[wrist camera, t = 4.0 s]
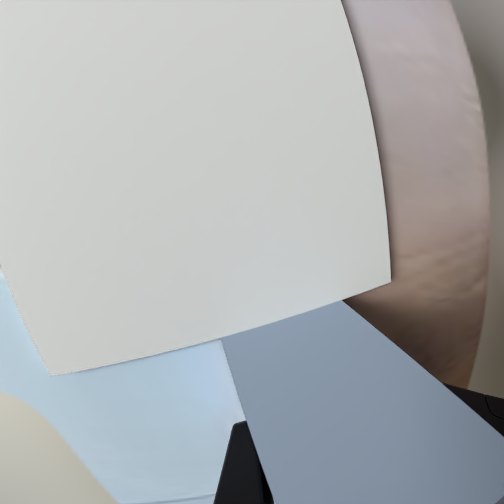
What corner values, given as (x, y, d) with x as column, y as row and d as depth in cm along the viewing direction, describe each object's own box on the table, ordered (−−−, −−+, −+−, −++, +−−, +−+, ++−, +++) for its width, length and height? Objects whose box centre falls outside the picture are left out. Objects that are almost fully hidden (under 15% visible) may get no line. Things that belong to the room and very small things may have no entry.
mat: (381, 276, 11) (390, 281, 11) (55, 366, 9) (50, 376, 9) (287, -103, 6) (292, -111, 6) (-12, -38, 4) (-18, -44, 4)
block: (343, 383, 12) (481, 554, 3) (246, 417, 11) (332, 633, 3) (335, 295, 11) (554, 481, 2) (218, 331, 10) (331, 633, 1)
